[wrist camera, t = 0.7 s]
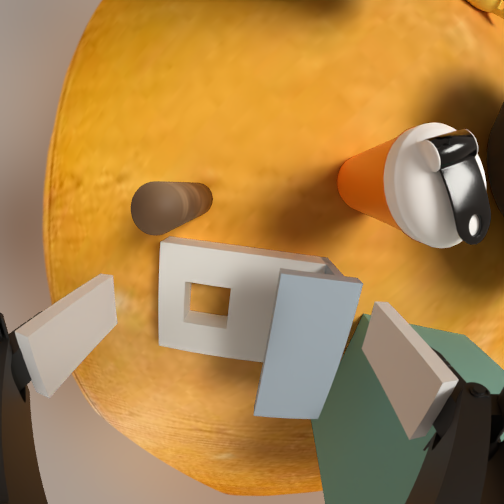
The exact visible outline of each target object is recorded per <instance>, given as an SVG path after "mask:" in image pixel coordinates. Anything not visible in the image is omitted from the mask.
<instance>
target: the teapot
mask: <svg viewBox="0 0 504 504" xmlns="http://www.w3.org/2000/svg"><path fill="white" fill-rule="evenodd" d="M466 1H468V2H469V3H470V4H471V5H473V6H474V7H476V8H478V9H480V10H483V11H486V12H490V13H494V14H496V15H498V16H500V17H501V18H503V19H504V9H503V10H502V9H500V8H499V7H500V6H501V3H502V0H466ZM503 1H504V0H503Z"/></svg>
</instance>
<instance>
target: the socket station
mask: <svg viewBox="0 0 504 504" xmlns="http://www.w3.org/2000/svg"><path fill="white" fill-rule="evenodd" d="M191 282H192V283H198V284H204V285H211V286H218V287H225V288H231V293H230V301H229V310H228V316H222V315H216V314H209V313H203V312H197V311H191V310H190V298H191ZM362 286H363V283H362V282H361V281H360V280H359V279H358V278H353V277H345V276H343V274H342V273H341V272H340V271H339V270H338V269H337V268H336V267H335V265H334V264H333V263H332V262H331V261H330V260H329V259H328V258H325V257H318V256H311V255H304V254H297V253H289V252H282V251H275V250H268V249H260V248H253V247H245V246H238V245H231V244H223V243H216V242H208V241H201V240H193V239H186V238H178V237H171V236H170V237H168V238H166V239H164V240H163V241H161V242H160V261H159V299H158V322H159V345H160V346H164V347H169V348H174V349H179V350H184V351H190V352H195V353H201V354H207V355H213V356H219V357H226V358H233V359H240V360H248V361H256V362H263V365H262V370H261V375H260V380H259V385H258V390H257V395H256V400H255V405H254V416H263V417H275V418H294V419H318V418H319V415H320V413H321V411H322V408H323V406H324V403H325V401H326V398H327V396H328V393H329V390H330V388H331V385H332V383H333V380H334V377H335V374H336V372H337V369H338V366H339V363H340V360H341V357H342V354H343V351H344V348H345V345H346V342H347V339H348V336H349V332H350V329H351V326H352V322H353V319H354V316H355V312H356V308H357V305H358V301H359V297H360V294H361V290H362Z"/></svg>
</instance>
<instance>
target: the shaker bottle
mask: <svg viewBox="0 0 504 504" xmlns="http://www.w3.org/2000/svg"><path fill="white" fill-rule="evenodd" d="M337 187H338V191H339V194H340V196H341V198H342V199H343V201H344V202H345V203H346V204H347V205H348V206H349V207H351V208H353V209H355V210H357V211H359V212H362V213H364V214H366V215H369V216H371V217H373V218H375V219H378V220H380V221H382V222H384V223H387V224H389V225H391V226H393V227H395V228H397V229H399V230H402V232H403V233H404V234H406V235H407V236H408V237H410V238H411V239H413V240H415V241H417V242H420V243H424V244H426V245H429V246H431V247H435V248H449V247H452V246H454V245H457V244H459V243H460V242H461V241H464V242H466V243H468V244H470V245H476V244H478V243H479V242H481V241H482V240H483V238H484V237H485V235H486V233H487V231H488V228H489V225H490V221H491V210H490V205H489V200H488V195H487V191H486V178H485V172H484V169H483V166H482V163H481V160H480V158H479V156H478V144H477V140H476V138H475V137H474V135H473V134H472V133H471V132H470V131H469V130H467V129H460V130H455V129H454V128H452V127H450V126H448V125H445V124H442V123H435V122H434V123H425V124H422V125H419V126H415V127H412V128H410V129H407V130H405V131H404V132H403V133H401V134H400V135H399V136H398V137H397V138H394V139H392V140H390V141H387V142H385V143H383V144H381V145H378V146H376V147H374V148H371V149H369V150H367V151H365V152H363V153H360V154H358V155H356V156H354V157H352V158H349V159H348V160H347V161H345V163H344V164H343V165H342V166H341V168H340V170H339V173H338V177H337Z"/></svg>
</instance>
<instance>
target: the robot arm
mask: <svg viewBox="0 0 504 504" xmlns="http://www.w3.org/2000/svg"><path fill="white" fill-rule="evenodd" d="M116 324H117V315H116V306H115V295H114V283H113V275H107V274H99V275H98V276H96V277H95V278H93V279H91V280H90V281H88V282H87V283H85V284H83V285H82V286H80V287H79V288H77V289H76V290H74V291H73V292H71V293H70V294H68V295H66V296H65V297H63V298H62V299H60V300H59V301H57V302H56V303H54V304H53V305H51V306H50V307H48V308H47V309H46V310H44V311H41V312H39V313H38V314H37V315H35V316H34V317H33V318H31V319H29V320H28V321H27V322H25V323H24V324H22V325H21V326H20V327H18V328H17V329H15V330H14V331H12V332H11V333H10V334H8V331H7V327H6V324H5V320H4V316H3V314H2V313H0V504H48V503H47V500H46V496H45V492H44V488H43V485H42V481H41V477H40V472H39V467H38V462H37V457H36V451H35V445H34V438H33V430H32V422H31V412H30V411H31V410H30V392H29V389H28V386H27V384H28V383H29V382H30V381H32V383H33V385H34V388H35V390H36V392H38V393H40V394H42V395H44V396H46V397H48V398H50V397H51V396H52V395H53V394H54V392H55V391H56V390H57V389H58V388H59V387H60V386H61V384H62V383H63V382H64V381H65V380H66V379H67V378H68V376H69V375H70V374H71V373H72V372H73V371H74V370H75V369H76V368H77V366H78V365H79V364H80V363H81V362H82V361H83V360H84V359H85V358H86V357H87V355H88V354H89V353H90V352H91V351H92V350H93V349H94V348H95V347H96V346H97V345H98V343H99V342H100V341H101V340H102V339H103V338H104V337H105V336H106V335H107V334H108V333H109V332H110V331H111V330H112V329H113V328H114V326H115V325H116ZM362 350H363V352H364V354H365V356H366V357H367V359H368V361H369V363H370V365H371V366H372V368H373V370H374V372H375V374H376V376H377V378H378V379H379V381H380V383H381V385H382V387H383V389H384V391H385V393H386V395H387V397H388V399H389V400H390V402H391V404H392V406H393V408H394V410H395V412H396V414H397V416H398V418H399V420H400V422H401V424H402V426H403V428H404V430H405V432H406V434H407V436H408V438H409V440H411V439H415V438H419V437H423V436H426V434H427V433H428V431H429V430H430V428H431V427H432V425H433V426H434V428H435V430H436V432H435V434H434V435H433V437H432V438H431V439H430V441H429V442H428V443H427V445H426V446H425V448H424V449H423V451H425V450H426V449H427V448H428V447H429V448H428V451H427V453H426V456H425V459H424V461H423V464H422V467H421V469H420V472H419V474H418V476H417V479H416V481H415V483H414V486H413V488H412V490H411V492H410V494H409V496H408V498H407V500H406V502H405V504H504V440H503V441H502V442H501V439H500V437H501V435H502V434H503V433H504V387H503V389H502V390H501V392H500V394H490V391H489V390H488V389H487V388H486V387H485V386H483V385H482V384H479V383H476V382H468V383H466V381H465V380H464V379H463V378H462V377H461V376H460V375H459V373H458V372H457V371H456V370H455V369H454V368H453V367H452V366H451V364H450V363H449V362H448V361H446V359H445V358H444V357H443V355H442V354H441V353H440V352H438V351H436V350H435V349H433V348H432V347H430V346H429V345H428V344H427V343H426V342H425V341H424V340H423V339H422V338H421V337H420V335H419V334H418V333H417V332H416V331H415V330H414V329H413V328H412V327H411V326H410V325H409V324H408V323H407V322H406V320H405V319H404V318H403V317H402V316H401V315H400V314H399V313H398V312H397V311H396V310H395V309H394V308H393V307H392V306H391V305H390V304H389V303H388V302H375V303H374V307H373V311H372V314H371V318H370V322H369V325H368V329H367V332H366V336H365V339H364V343H363V346H362Z"/></svg>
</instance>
